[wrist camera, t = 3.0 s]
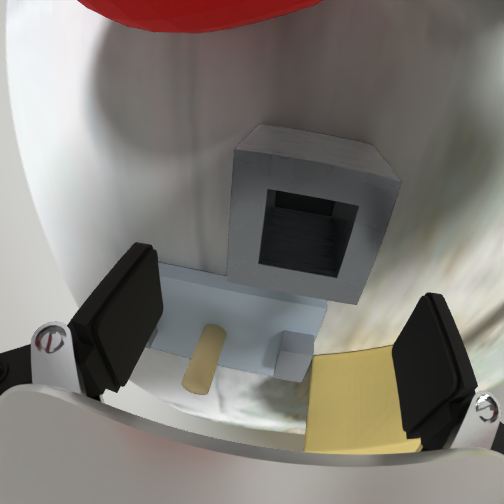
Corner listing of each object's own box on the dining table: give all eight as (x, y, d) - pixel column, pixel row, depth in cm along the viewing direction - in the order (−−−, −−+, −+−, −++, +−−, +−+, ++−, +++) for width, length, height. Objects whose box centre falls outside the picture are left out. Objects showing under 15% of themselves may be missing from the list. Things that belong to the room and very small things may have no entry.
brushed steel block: (372, 144, 15) (401, 181, 10) (347, 240, 18) (356, 304, 14) (259, 123, 15) (234, 149, 10) (249, 222, 19) (226, 281, 14)
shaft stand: (326, 294, 21) (326, 374, 15) (299, 368, 27) (291, 432, 21) (127, 255, 23) (81, 314, 17) (145, 333, 28) (116, 386, 23)
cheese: (321, 402, 31) (314, 480, 22) (308, 349, 25) (297, 453, 17) (408, 392, 27) (415, 470, 19) (420, 334, 22) (440, 437, 14)
